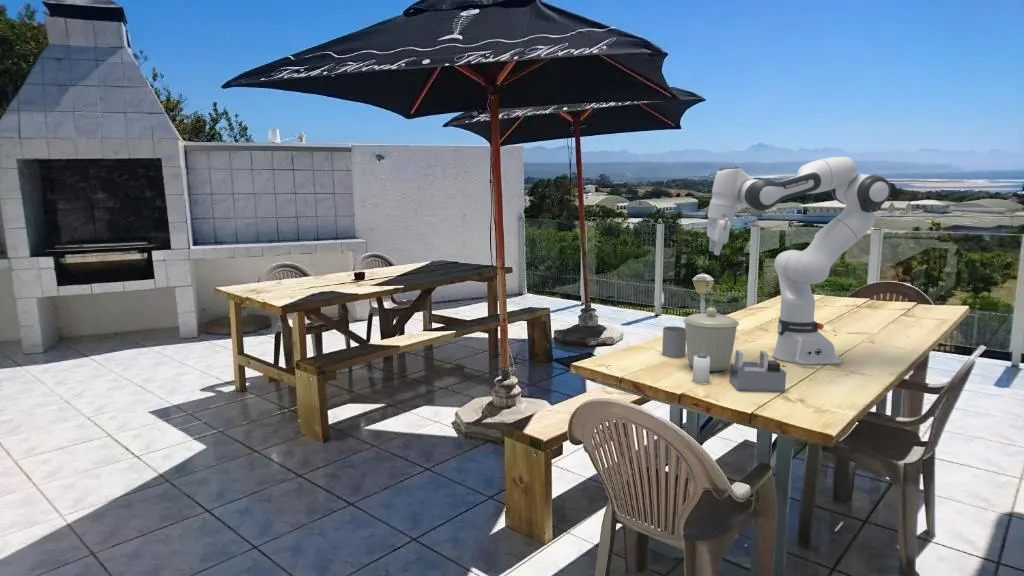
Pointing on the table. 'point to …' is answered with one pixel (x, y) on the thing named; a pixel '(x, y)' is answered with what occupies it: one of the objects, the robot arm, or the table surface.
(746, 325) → the table surface
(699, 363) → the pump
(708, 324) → the canister
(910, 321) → the table surface
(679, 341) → the cup
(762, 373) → the grey holder stand
